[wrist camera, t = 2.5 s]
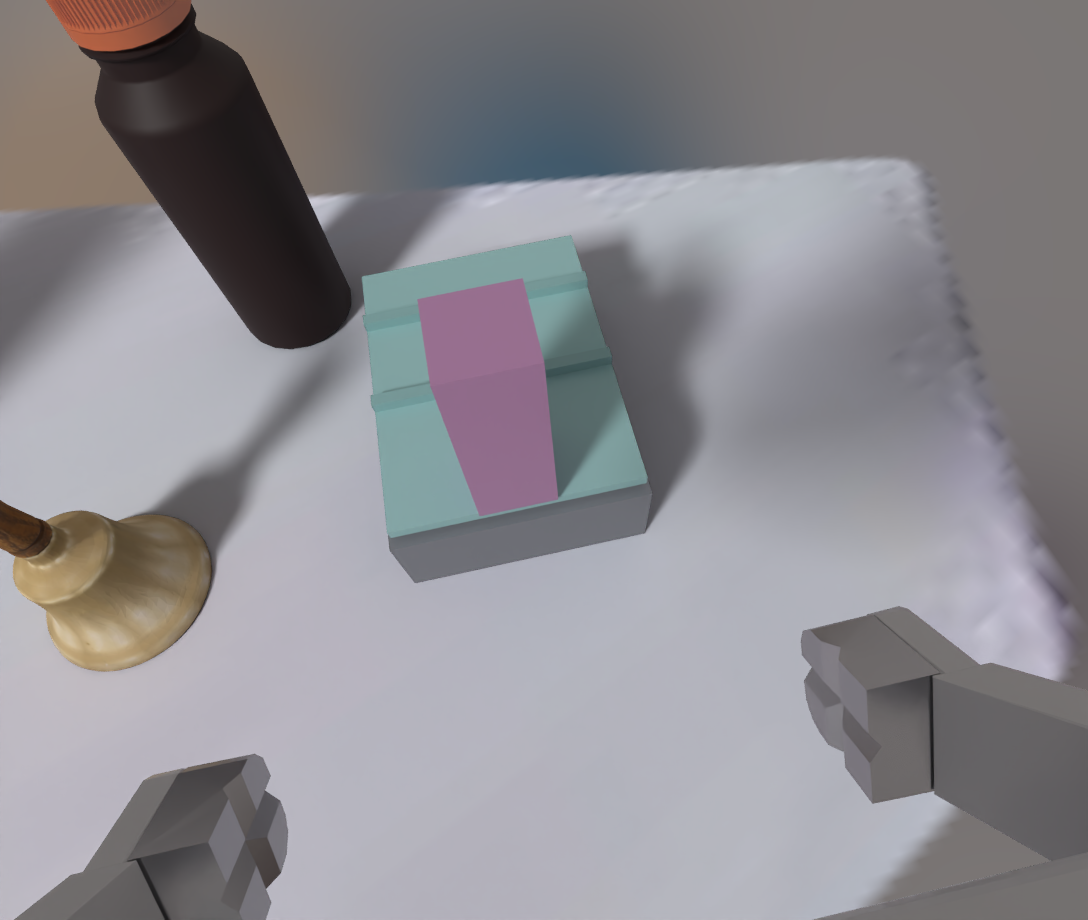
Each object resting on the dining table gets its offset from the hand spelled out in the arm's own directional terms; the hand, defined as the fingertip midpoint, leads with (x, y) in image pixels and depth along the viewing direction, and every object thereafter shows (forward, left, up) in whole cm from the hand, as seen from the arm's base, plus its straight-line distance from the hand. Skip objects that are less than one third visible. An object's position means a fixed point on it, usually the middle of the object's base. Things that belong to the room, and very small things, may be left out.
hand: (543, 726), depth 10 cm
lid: (-15, +10, -16) cm, 25 cm away
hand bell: (-22, -10, -22) cm, 33 cm away
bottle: (-31, +7, -22) cm, 39 cm away
